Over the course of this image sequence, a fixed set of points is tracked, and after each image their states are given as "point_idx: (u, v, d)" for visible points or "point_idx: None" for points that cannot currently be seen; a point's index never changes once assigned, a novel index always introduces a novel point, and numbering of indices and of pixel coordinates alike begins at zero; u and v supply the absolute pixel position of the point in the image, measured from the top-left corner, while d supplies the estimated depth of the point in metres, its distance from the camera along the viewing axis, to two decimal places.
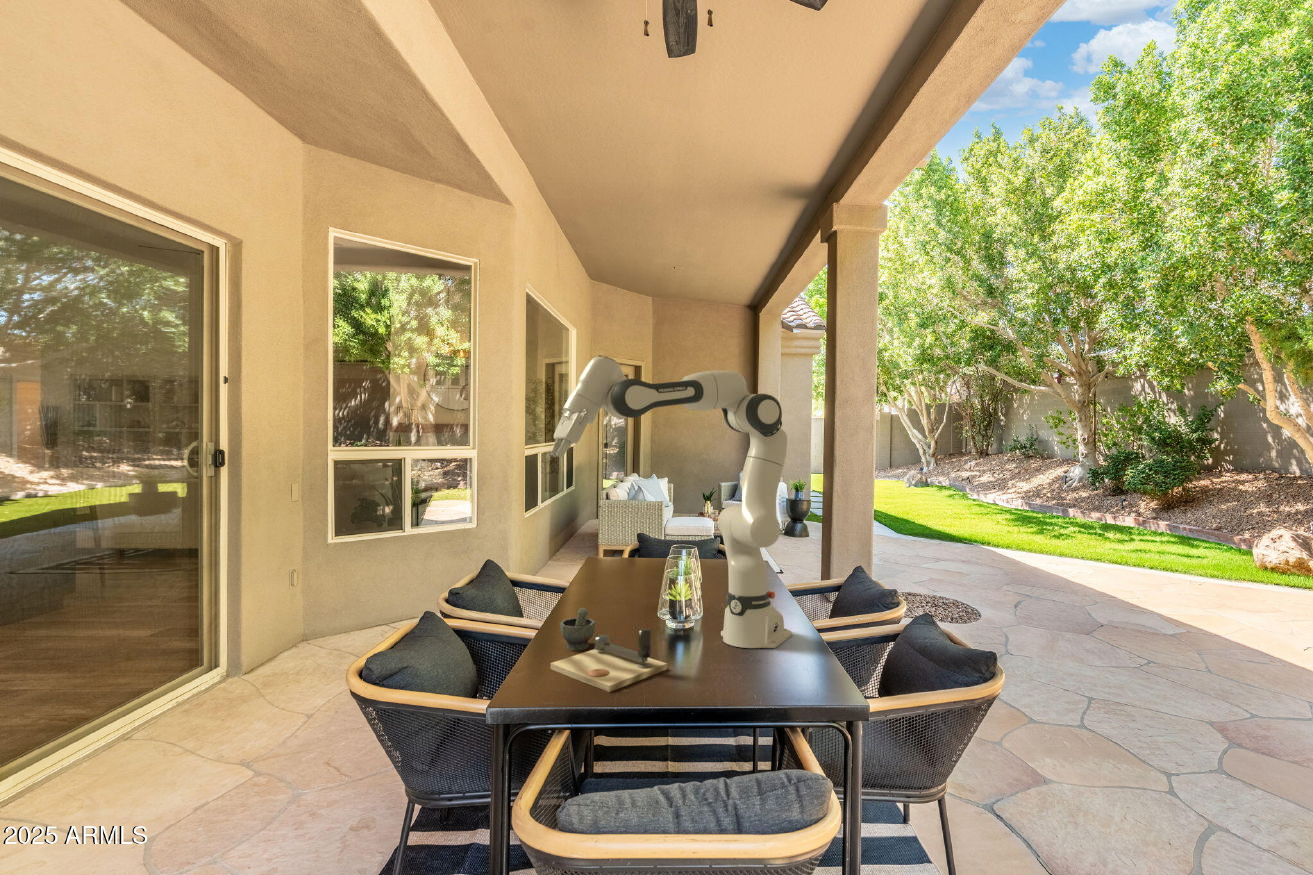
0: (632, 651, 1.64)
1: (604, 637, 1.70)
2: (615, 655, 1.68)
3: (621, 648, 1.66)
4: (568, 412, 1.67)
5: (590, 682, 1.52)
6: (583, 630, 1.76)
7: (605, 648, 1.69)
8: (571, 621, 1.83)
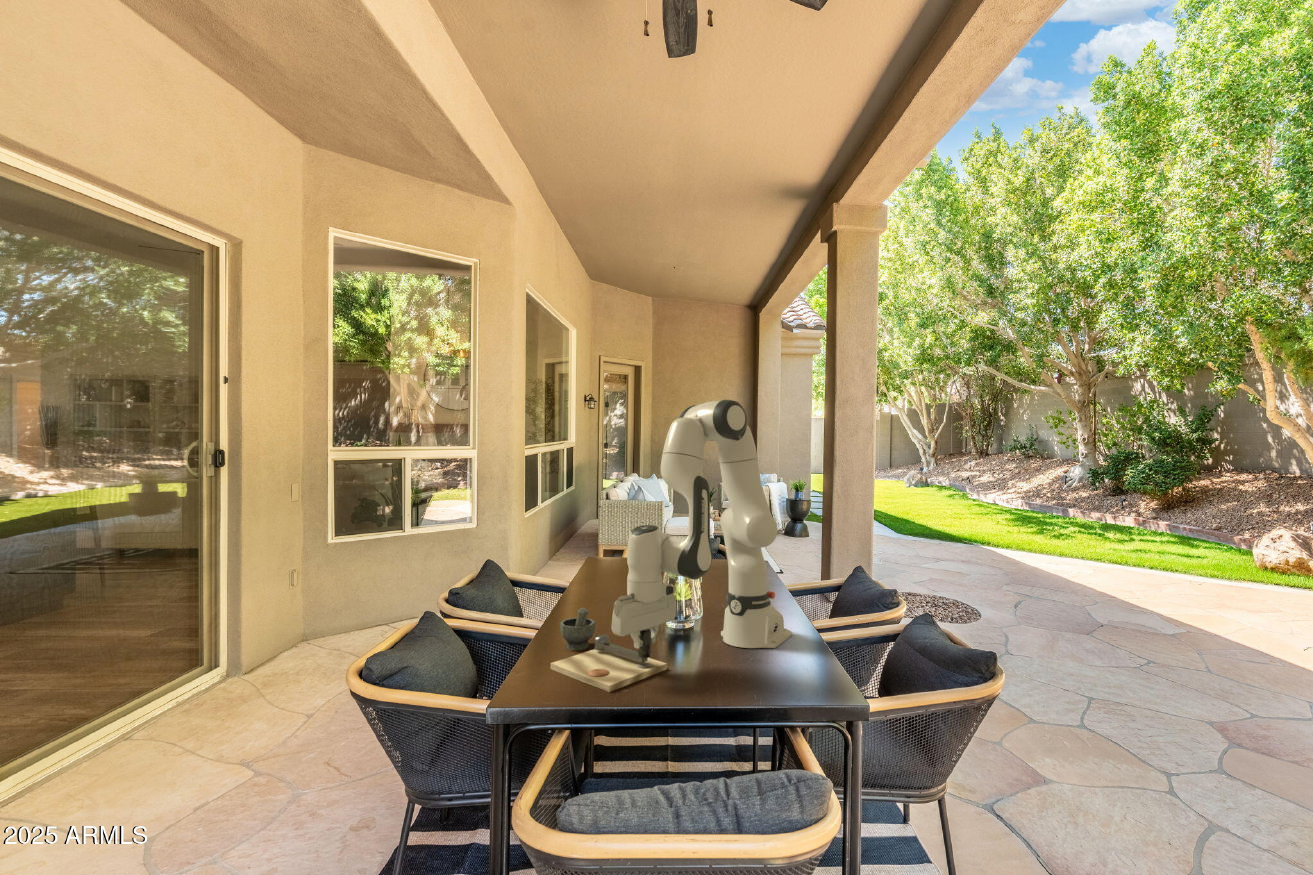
0: (632, 651, 1.64)
1: (604, 637, 1.70)
2: (615, 655, 1.68)
3: (621, 648, 1.66)
4: None
5: (590, 682, 1.52)
6: (583, 630, 1.76)
7: (605, 648, 1.69)
8: (571, 621, 1.83)
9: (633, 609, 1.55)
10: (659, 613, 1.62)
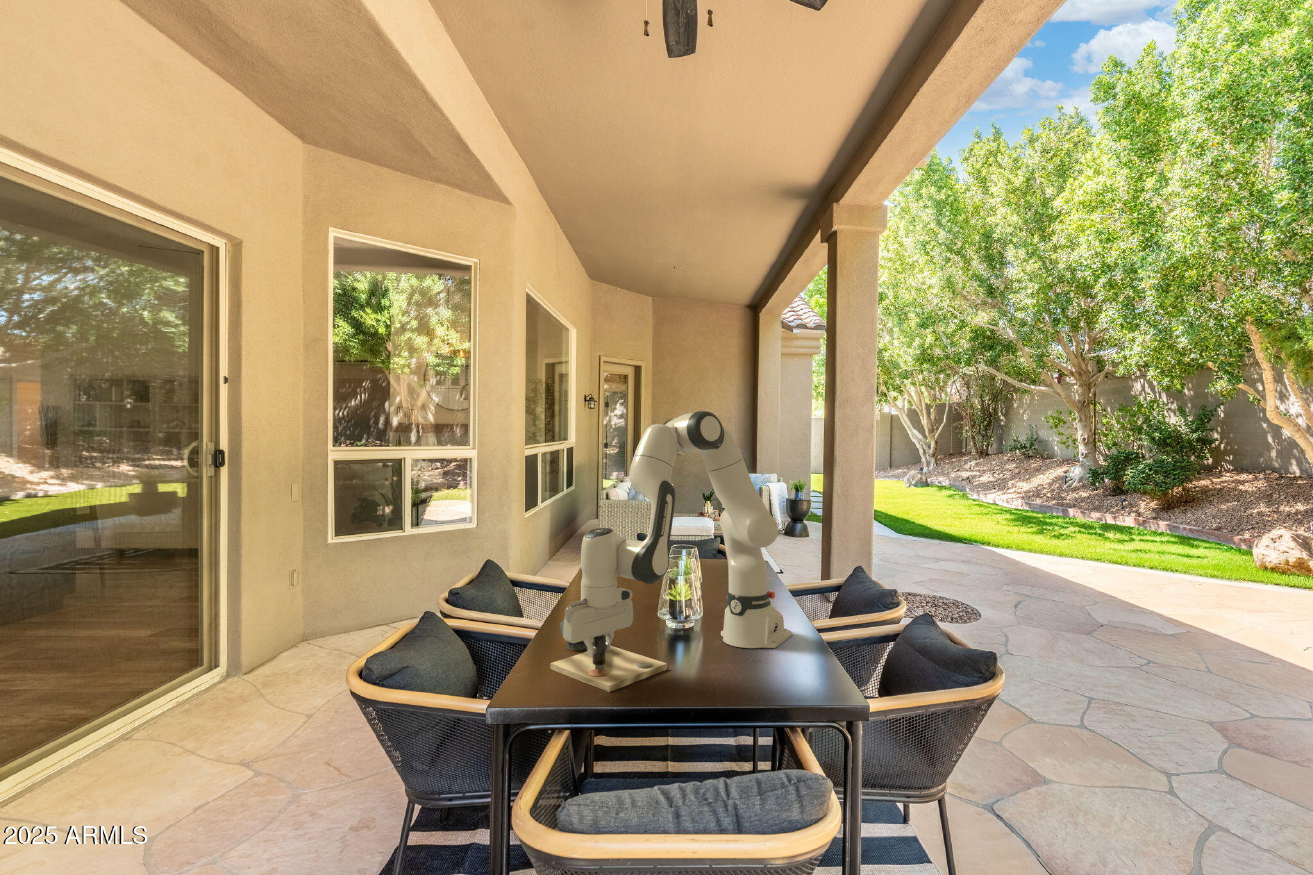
0: None
1: None
2: (615, 655, 1.68)
3: None
4: None
5: (590, 682, 1.52)
6: None
7: None
8: None
9: (585, 615, 1.50)
10: (614, 619, 1.57)
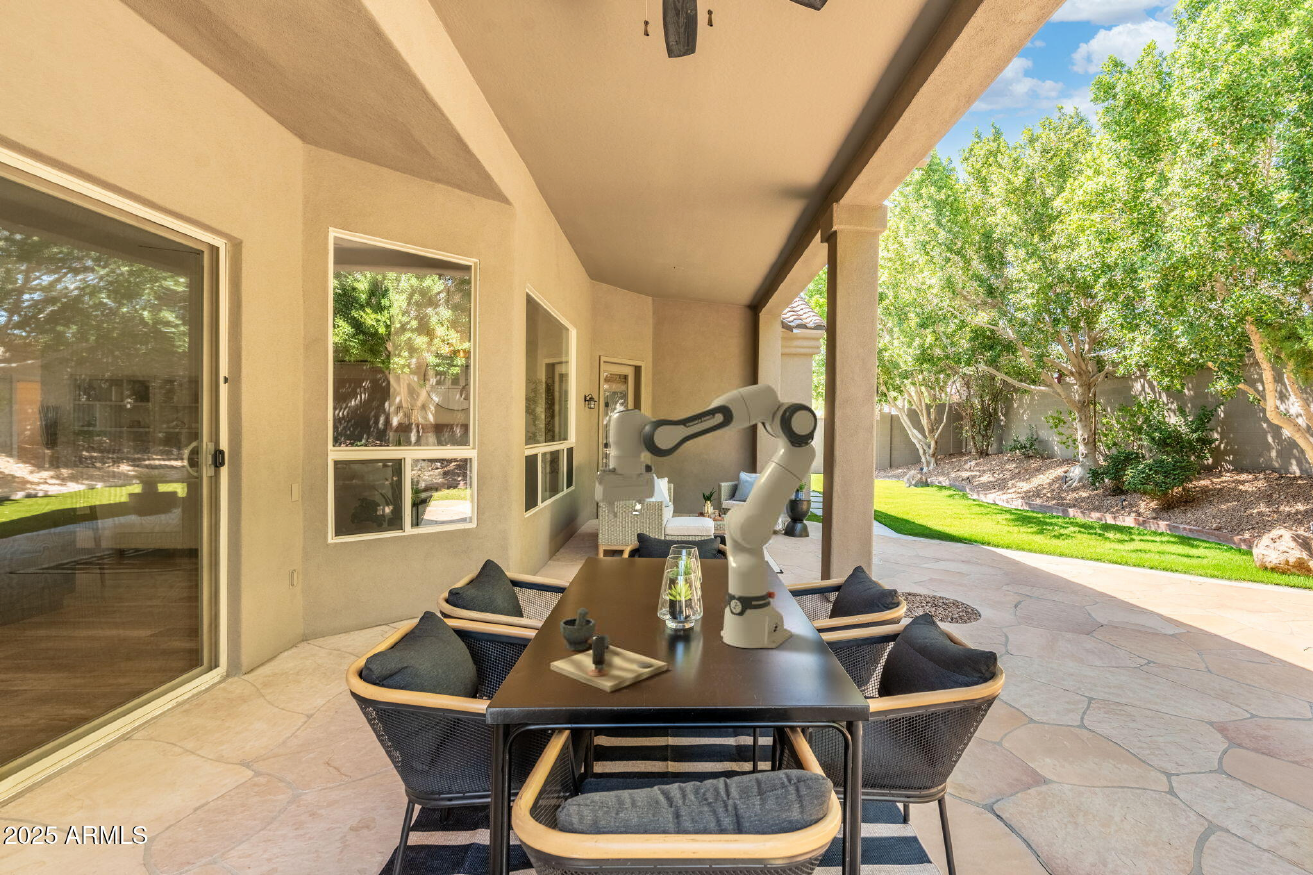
0: None
1: None
2: (615, 655, 1.68)
3: None
4: None
5: (590, 682, 1.52)
6: (583, 630, 1.76)
7: None
8: (571, 621, 1.83)
9: (614, 480, 1.71)
10: (638, 489, 1.78)
